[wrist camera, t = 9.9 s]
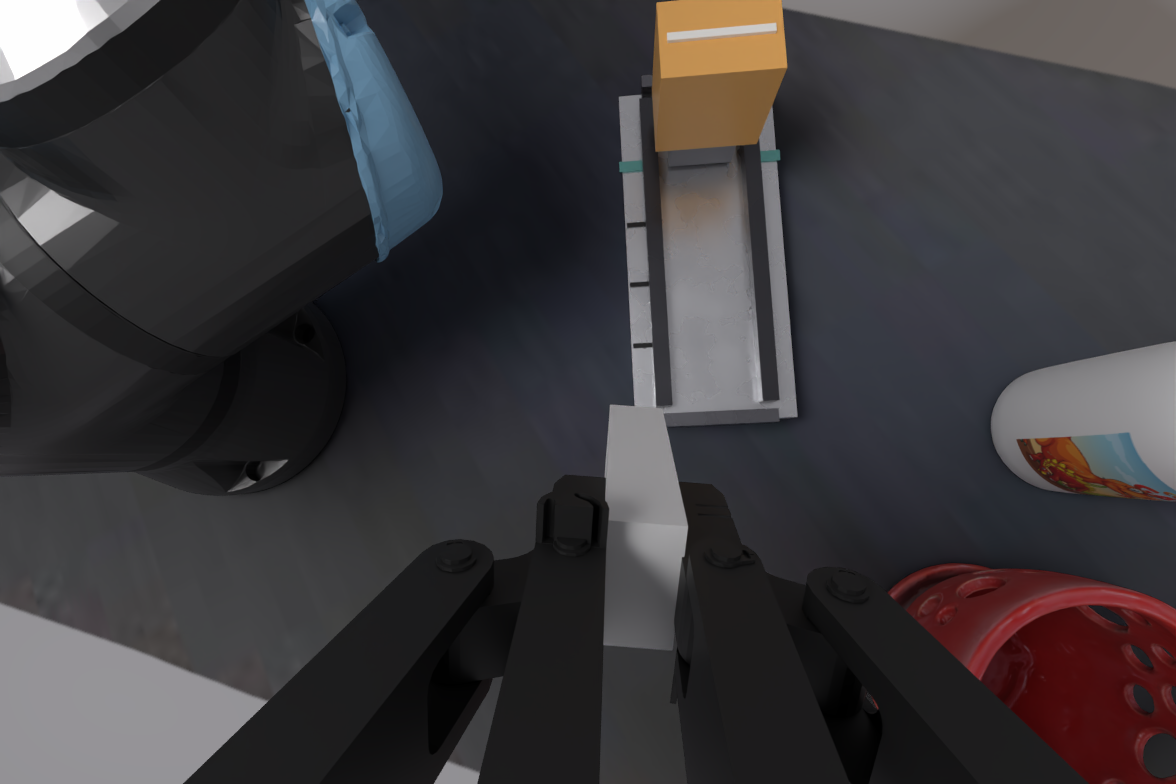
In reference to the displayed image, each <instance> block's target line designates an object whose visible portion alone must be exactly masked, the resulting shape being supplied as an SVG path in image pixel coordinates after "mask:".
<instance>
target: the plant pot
mask: <svg viewBox="0 0 1176 784" xmlns="http://www.w3.org/2000/svg"><path fill="white" fill-rule="evenodd" d="M888 594H889V595H890V596H891V597H892V598H893V599H894V600H895V601H896V602H897V603H899V604H900V605H901V606H902V607H903V608H904V609H905V610H906V611H907V612H908V613H909V614H910V615H911V616H912V617H913V618H914V619H915V620H917V621H918V622H919V623H920V624H921V625H922V626H923V627H924V628H925V629H926V630H927V631H928V632H929V633H930V634H931V635H932V636H933V637H934V638H936V639H937V640H938V641H939V642H940V643H941V644H942V645H943V646H944V647H945V648H946V649H947V650H948V651H949V652H950V653H951V654H952V655H954V656H955V657H956V658H957V659H958V660H959V661H960V662H961V663H962V664H963V665H964V666H965V667H966V668H967V669H968V670H969V671H970V672H972V673H973V674H974V675H975V676H976V677H977V678H978V679H979V680H980V681H981V682H982V683H983V684H984V685H985V686H986V687H987V688H988V689H989V690H991V691H992V692H993V693H994V694H995V695H996V696H997V697H998V698H999V699H1000V700H1001V701H1002V702H1003V703H1004V704H1005V705H1006V706H1007V707H1009V708H1010V709H1011V710H1012V711H1013V712H1014V713H1015V714H1016V715H1017V716H1018V717H1019V718H1020V719H1021V720H1022V721H1023V722H1024V723H1025V724H1026V725H1028V726H1029V727H1030V728H1031V729H1032V730H1033V731H1034V732H1035V733H1036V734H1037V735H1038V736H1039V737H1040V738H1041V739H1042V740H1043V741H1044V742H1046V743H1047V744H1048V745H1049V746H1050V747H1051V748H1052V749H1053V750H1054V751H1055V752H1056V753H1057V754H1058V755H1059V756H1060V757H1061V758H1062V759H1064V760H1065V761H1066V762H1067V763H1068V764H1069V765H1070V766H1071V767H1072V768H1073V769H1074V770H1075V771H1076V772H1077V773H1078V774H1079V775H1080V776H1081V777H1083V778H1084V779H1085V780H1086V781H1087V782H1088V783H1089V784H1176V775H1174V776H1171V777H1166V778H1157V777H1155V776H1153V775H1152V774H1151V773H1150V772H1149V771H1148V770H1147V769H1146V767H1145V764H1144V760H1143V750H1144V747H1145V744H1146V742H1147V741H1148V740H1149V738H1151V737H1152V736H1153V735H1156V734H1159V733H1165V734H1169V735H1171V736H1173V737H1174V738H1175V739H1176V704H1175V703H1174V701H1173V698H1172V695H1171V689H1172V686H1175V687H1176V609H1175V608H1173V607H1171V606H1169V605H1168V604H1166V603H1164V602H1162V601H1160V600H1158V599H1156V598H1153V597H1151V596H1149V595H1146V594H1143V593H1140V592H1137V591H1134V590H1131V589H1127V588H1123V587H1120V586H1116V585H1112V584H1109V583H1105V582H1101V581H1097V580H1093V579H1088V578H1084V577H1079V576H1074V575H1069V574H1063V573H1058V572H1051V571H1043V570H1031V569H990V568H987V567H983V566H978V565H973V564H961V563H947V564H940V565H935V566H930V567H927V568H924V569H921V570H919V571H916V572H914V573H912V574H910V575H909V576H907V577H906V578H904V579H902V580H901V581H900V582H899V583H897V584H896V585H895V586H893V588H892V589H891V590H890V591H889V592H888ZM1088 605H1101V606H1103V607H1105V608H1107V609H1109V610H1111V611H1112V612H1114V613H1116V614H1117V615H1119V616H1120V617H1121V618H1122V619H1123V620H1124V621H1125V623H1126V624H1127V625H1128V626H1122V625H1118V624H1116V623H1113V622H1111V621H1109V620H1107V619H1105V618H1103V617H1102V616H1100V615H1099V614H1098V613H1096V612H1095V611H1094V610H1093V609H1091V608H1090V607H1089V606H1088ZM1131 645H1134V646H1136V647H1138V648H1140V649H1141V650H1143V651H1144V652H1145V653H1146V655H1147V656H1148V657H1149V659H1150V661H1151V663H1152V665H1153V668H1151V667H1148V666H1146V665H1144V664H1143V663H1142V662H1140V661H1139V659H1138V658H1137V657H1136V656H1135V654H1134V653H1133V651H1132V649H1131ZM1162 647H1163V648H1165V649H1166V650H1167V651H1168V652H1169V653H1170V654H1171V655H1172V656H1173V657H1174V658H1175V659H1174V658H1172V657H1171V656H1169V655H1168V654H1167V653H1166V652H1165V650H1164V649H1163V648H1162ZM1135 685H1140V686H1141V687H1143V688H1145V689H1146V690H1147V691H1148V692H1149V694H1150V695H1151V696H1152V698H1153V701H1154V711H1153V712H1152V713H1148V712H1146V711H1144V710H1143V709H1141V708H1140V707H1139V705H1138V704H1137V702H1136V701H1135V698H1134V696H1133V687H1134V686H1135ZM872 699H873V698H872ZM873 701H874V699H873ZM874 703H875V705H876V707H877V709H878V706H877V704H876V702H875V701H874Z"/></svg>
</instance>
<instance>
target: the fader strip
mask: <svg viewBox="0 0 1176 784" xmlns="http://www.w3.org/2000/svg"><path fill="white" fill-rule="evenodd" d="M652 78H653V74H652V75H641V95H633V96H622V97H619V114H620V134H621V153H622V162H619V169H620V173H623V193H624V212H625V232H626V251H627V271H628V290H629V310H630V329H631V349H632V368H633V388H634V406H636V407H650V408H662V409H663V414H664V418H665V423H666V428H671V427H693V426H715V425H737V424H759V423H775V422H779V421H780V420H779V419H790V418H795V417H798V416H797V404H796V392H795V379H794V367H793V355H792V342H791V330H790V318H789V305H788V293H787V281H786V268H785V256H784V244H783V231H782V219H781V207H780V194H779V182H778V170H777V161H780V150H776V145H775V133H774V120H773V108H772V107H771V109H770V112H769V114H768V117H767V119H766V122H765V124H764V127H763V129H762V132H761V134H760V137H759V139H758V142H757V144H750V145H737V146H736V148H735V151H734V154H733V157H732V160H731V162H725V163H712V164H699V165H686V166H672V167H669V165H668V151H660V152H655V135H654V118H653V101H652Z"/></svg>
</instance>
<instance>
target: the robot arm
mask: <svg viewBox="0 0 1176 784" xmlns="http://www.w3.org/2000/svg"><path fill="white" fill-rule="evenodd" d="M442 195H443V185H442V177H441V173H440V170H439V167H438V164H437V161H436V159H435V156H434V154H433V151H432V149H431V147H430V145H429V142H428V140H427V138H426V135H425V133H424V131H423V129H422V127H421V124H420V122H419V120H418V118H417V116H416V114H415V112H414V110H413V107H412V105H411V103H410V101H409V99H408V97H407V95H406V93H405V91H404V89H403V87H402V85H401V83H400V81H399V79H398V77H397V75H396V73H395V71H394V69H393V67H392V65H391V63H390V61H389V59H388V58H387V56H386V54H385V52H384V50H383V48H382V46H381V45H380V43H379V41H378V39H377V37H376V35H375V34H374V32H373V31H372V30H371V29H370V28H369V27H368V26H367V22H366V18H365V16H364V14H363V12H362V11H361V9H360V7H359V5H358V4H357V2H356V0H0V477H11V476H36V475H61V474H86V473H111V472H135V473H138V474H141V475H143V476H146V477H148V478H151V479H154V480H156V481H159V482H162V483H164V484H167V485H169V486H172V487H175V488H177V489H180V490H183V491H187V492H191V493H195V494H202V495H213V496H223V495H234V494H244V493H252V492H258V491H261V490H265V489H268V488H271V487H274V486H276V485H278V484H281V483H283V482H284V481H286V480H288V479H290V478H291V477H293V476H295V475H296V474H297V473H299V472H300V471H301V470H303V469H304V468H305V467H306V466H307V465H308V464H309V463H311V462H312V461H313V460H314V458H315V457H316V456H317V455H318V454H319V453H320V452H321V450H322V449H323V448H324V446H325V445H326V443H327V442H328V440H329V439H330V437H331V435H332V433H333V431H334V429H335V427H336V425H337V423H338V420H339V417H340V414H341V411H342V408H343V403H344V398H345V392H346V367H345V360H344V355H343V351H342V348H341V344H340V342H339V339H338V337H337V335H336V332H335V330H334V329H333V327H332V325H331V323H330V322H329V321H328V319H327V318H326V316H325V315H324V314H323V313H322V311H321V310H320V309H319V308H318V307H317V306H316V305H315V304H314V303H312V302H313V301H314V300H316V299H317V298H319V297H320V296H322V295H323V294H324V293H326V292H327V291H329V290H330V289H332V288H333V287H335V286H336V285H338V284H339V283H341V282H342V281H344V280H345V279H347V278H348V277H350V276H351V275H353V274H354V273H356V272H357V271H359V270H360V269H362V268H363V267H365V266H366V265H367V264H369V263H370V262H372V261H373V260H376V262H382V261H383V260H385V259H386V258H387V256H388V254H389V251H390V250H391V249H392V248H393V247H395V246H396V245H397V244H399V243H400V242H401V241H403V240H404V239H405V238H407V237H408V236H409V235H411V234H412V233H414V232H415V231H416V230H418V229H419V228H420V227H422V226H423V225H424V224H426V223H427V222H428V221H429V220H431V219H432V217H433V216H434V215H435V214H436V212H437V211H438V209H439V206H440V202H441V199H442ZM675 633H676V641H677V653H676V661H675V669H674V676H673V684H672V692H671V700H670V703H674V704H676V701H677V698H678V706H679V715H680V723H681V732H682V740H683V749H684V757H685V766H686V774H687V783H688V784H1089V783H1088V782H1087V781H1086V780H1085V779H1084V778H1083V777H1081V776H1080V775H1079V774H1078V773H1077V772H1076V771H1075V770H1074V769H1073V768H1072V767H1071V766H1070V765H1069V764H1068V763H1067V762H1066V761H1065V760H1064V759H1062V758H1061V757H1060V756H1059V755H1058V754H1057V753H1056V752H1055V751H1054V750H1053V749H1052V748H1051V747H1050V746H1049V745H1048V744H1047V743H1046V742H1044V741H1043V740H1042V739H1041V738H1040V737H1039V736H1038V735H1037V734H1036V733H1035V732H1034V731H1033V730H1032V729H1031V728H1030V727H1029V726H1028V725H1026V724H1025V723H1024V722H1023V721H1022V720H1021V719H1020V718H1019V717H1018V716H1017V715H1016V714H1015V713H1014V712H1013V711H1012V710H1011V709H1010V708H1009V707H1007V706H1006V705H1005V704H1004V703H1003V702H1002V701H1001V700H1000V699H999V698H998V697H997V696H996V695H995V694H994V693H993V692H992V691H991V690H989V689H988V688H987V687H986V686H985V685H984V684H983V683H982V682H981V681H980V680H979V679H978V678H977V677H976V676H975V675H974V674H973V673H972V672H970V671H969V670H968V669H967V668H966V667H965V666H964V665H963V664H962V663H961V662H960V661H959V660H958V659H957V658H956V657H955V656H954V655H952V654H951V653H950V652H949V651H948V650H947V649H946V648H945V647H944V646H943V645H942V644H941V643H940V642H939V641H938V640H937V639H936V638H934V637H933V636H932V635H931V634H930V633H929V632H928V631H927V630H926V629H925V628H924V627H923V626H922V625H921V624H920V623H919V622H918V621H917V620H915V619H914V618H913V617H912V616H911V615H910V614H909V613H908V612H907V611H906V610H905V609H904V608H903V607H902V606H901V605H900V604H899V603H897V602H896V601H895V600H894V599H893V598H892V597H891V596H890V595H889V594H888V593H887V592H886V591H885V590H884V589H883V588H882V587H880V586H879V585H878V584H876V583H875V582H874V581H872V580H871V579H869V578H867V577H865V576H863V575H861V574H859V573H857V572H855V571H852V570H849V569H848V570H846V569H845V568H835V567H823V568H819V569H814V570H813V571H812V572H811V573H810V574H808V577H807V582H806V585H803V584H799V583H795V582H792V581H788V580H784V579H781V578H778V577H775V576H773V575H770V574H768V573H766V572H765V569H764V567H763V564H762V562H761V560H760V558H759V557H758V556H757V554H756V553H755V552H754V551H752V550H751V549H749V548H748V547H746V546H745V545H742V544H741V541H740V538H739V536H738V533H737V530H736V527H735V525H734V522H733V519H732V518H731V514H730V511H729V509H728V505H727V503H726V500H725V497H724V495H723V494H722V493H721V492H720V491H718V490H717V489H716V488H715V487H714V486H713V485H712V484H700V483H687V482H678V478H677V473H676V469H675V464H674V460H673V455H672V450H671V446H670V441H669V437H668V432H667V428H666V423H665V418H664V414H663V409H662V408H650V407H636V406H622V405H610V412H609V425H608V439H607V452H606V465H605V478H601V477H588V476H575V475H564V476H563V477H562V478H561V479H559V480H558V481H557V482H556V483H555V484H554V488H553V492H550V493H548V494H546V495H544V496H543V497H541V499H540V500H539V501H538V503H537V520H536V543H535V548H534V550H532V551H530V552H529V553H527V554H524V555H521V556H519V557H515V558H510V559H503V560H495V561H494V558H493V554H492V551H491V550H490V549H488V548H487V547H486V546H485V545H483V544H480V543H478V542H475V541H469V540H462V539H458V540H448V541H444V542H441V543H438V544H435V545H432V546H431V547H429V548H428V549H426V550H425V551H423V552H422V553H421V554H420V555H419V556H418V557H417V558H416V559H415V560H414V561H413V562H412V563H411V564H410V565H409V566H408V567H407V568H406V569H405V570H404V571H403V572H402V573H400V574H399V575H398V576H397V577H396V578H395V579H394V580H393V581H392V582H391V583H390V584H389V585H388V586H387V587H386V588H385V589H384V590H383V591H382V592H381V593H380V594H379V595H378V596H377V597H376V598H375V599H374V600H373V601H372V602H371V603H369V604H368V605H367V606H366V607H365V608H364V609H363V610H362V611H361V612H360V613H359V614H358V615H357V616H356V617H355V618H354V619H353V620H352V621H351V622H350V623H349V624H348V625H347V626H346V627H345V628H344V629H343V630H342V631H341V632H339V633H338V634H337V635H336V636H335V637H334V638H333V639H332V640H331V641H330V642H329V643H328V644H327V645H326V646H325V647H324V648H323V649H322V650H321V651H320V652H319V653H318V654H317V655H316V656H315V657H314V658H313V659H312V660H311V661H310V662H308V663H307V664H306V665H305V666H304V667H303V668H302V669H301V670H300V671H299V672H298V673H297V674H296V675H295V676H294V677H293V678H292V679H291V680H290V681H289V682H288V683H287V684H286V685H285V686H284V687H283V688H282V689H281V690H280V691H278V692H277V693H276V694H275V695H274V696H273V697H272V698H271V699H270V700H269V701H268V702H267V703H266V704H265V705H264V706H263V707H262V708H261V709H260V710H259V711H258V712H257V713H256V714H255V715H254V716H253V717H252V718H251V719H250V720H249V721H247V722H246V724H244V725H243V726H242V727H241V728H240V729H239V730H238V731H237V732H236V733H235V734H234V735H233V736H232V737H231V738H230V739H229V740H228V741H227V742H226V743H225V744H224V745H223V746H222V747H221V748H220V749H219V750H217V751H216V752H215V753H214V754H213V755H212V756H211V757H210V758H209V759H208V760H207V761H206V762H205V763H204V764H203V765H202V766H201V767H200V768H199V769H198V770H197V771H196V772H195V773H194V774H193V775H192V776H191V777H190V778H189V779H188V780H187V781H186V782H184V783H183V784H434V782H435V780H436V779H437V777H438V775H439V774H440V772H441V770H442V769H443V767H444V765H445V764H446V762H447V760H448V759H449V757H450V755H451V753H452V752H453V750H454V748H455V747H456V745H457V743H458V742H459V740H460V738H461V737H462V735H463V733H464V731H465V730H466V728H467V726H468V725H469V723H470V721H471V720H472V718H473V716H474V715H475V713H476V711H477V710H478V708H479V706H480V704H481V703H482V701H483V699H484V698H485V696H486V694H487V693H488V691H489V688H490V685H491V682H492V678H495V677H501V676H503V680H502V684H501V688H500V693H499V697H498V701H497V705H496V709H495V713H494V717H493V722H492V726H491V730H490V734H489V738H488V742H487V746H486V751H485V755H484V759H483V763H482V767H481V771H480V775H479V779H478V784H599V772H600V739H601V706H602V673H603V645H610V646H622V647H634V648H646V649H657V650H669V651H673V643H674V635H675ZM867 691H868V692H869V693H870V695H871V696H872V698H873V699H874V701H875V702H876V704H877V706H878V710H877V709H875V708H874V707H873V706H872V704H871V703H870V702H869V700H868V699H867V698H866V693H867Z"/></svg>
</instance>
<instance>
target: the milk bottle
mask: <svg viewBox="0 0 1176 784" xmlns="http://www.w3.org/2000/svg"><path fill="white" fill-rule="evenodd" d="M991 435H992V441H993V444H994V446H995V448H996V451H997V453H998V455H999V456H1000V458H1001V459H1002V461H1003V463H1004V464H1005V465H1006V466H1007V467H1008V468H1009V469H1010V470H1011V471H1012V472H1013V473H1014V474H1015V475H1017V476H1018V477H1019V478H1021V479H1022V480H1024V481H1025V482H1027V483H1029V484H1031V485H1033V486H1036V487H1038V488H1042V489H1045V490H1050V491H1057V492H1065V493H1075V494H1086V495H1097V496H1109V497H1120V498H1132V499H1144V500H1157V501H1170V502H1176V341H1174V342H1168V343H1163V344H1158V345H1153V346H1148V347H1143V348H1138V349H1133V350H1128V351H1123V352H1118V353H1113V354H1108V355H1103V356H1098V357H1093V358H1089V359H1084V360H1079V361H1074V362H1070V363H1065V364H1060V365H1056V366H1051V367H1047V368H1043V369H1039V370H1035V371H1031V372H1029V373H1026V374H1024V375H1022V376H1020V377H1019V378H1017V379H1015V380H1014V381H1013V382H1011V383H1010V384H1009V385H1008V386H1007V387H1006V388H1005V390H1004V391H1003V392H1002V393H1001V395H1000V396H999V398H998V399H997V402H996V404H995V406H994V408H993V412H992V416H991Z"/></svg>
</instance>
